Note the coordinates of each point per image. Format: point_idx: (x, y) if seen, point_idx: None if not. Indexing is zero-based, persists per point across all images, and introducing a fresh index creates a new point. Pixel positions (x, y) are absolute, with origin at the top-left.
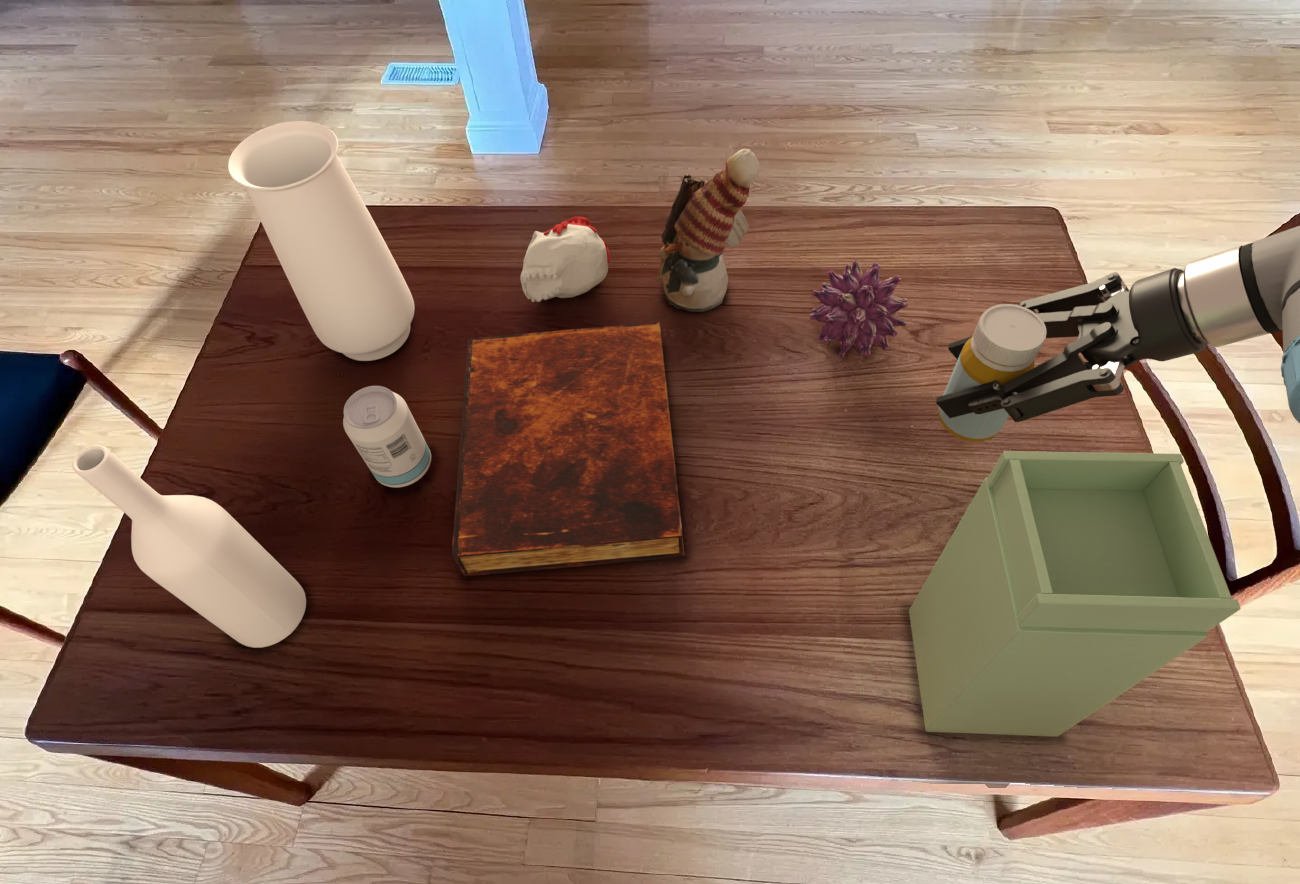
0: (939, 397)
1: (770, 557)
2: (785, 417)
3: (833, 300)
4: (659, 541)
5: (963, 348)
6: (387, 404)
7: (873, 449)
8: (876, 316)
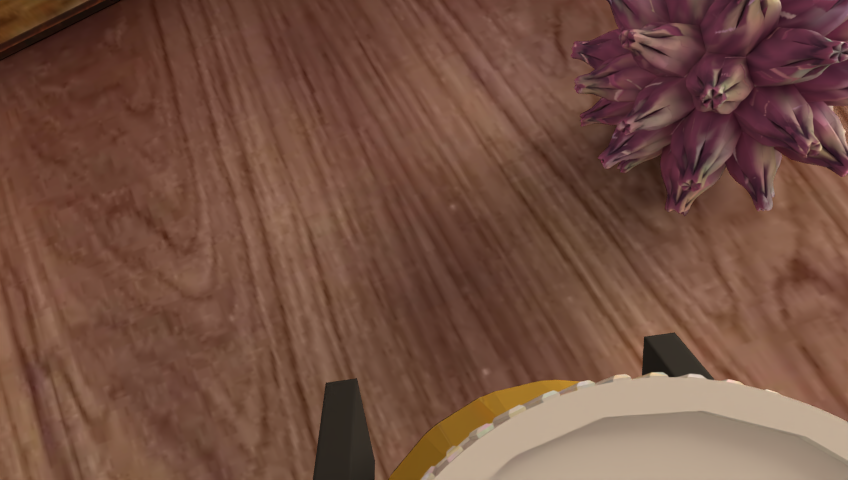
0: (351, 388)
1: (9, 212)
2: (370, 101)
3: None
4: None
5: (540, 383)
6: None
7: (369, 307)
8: (691, 86)
